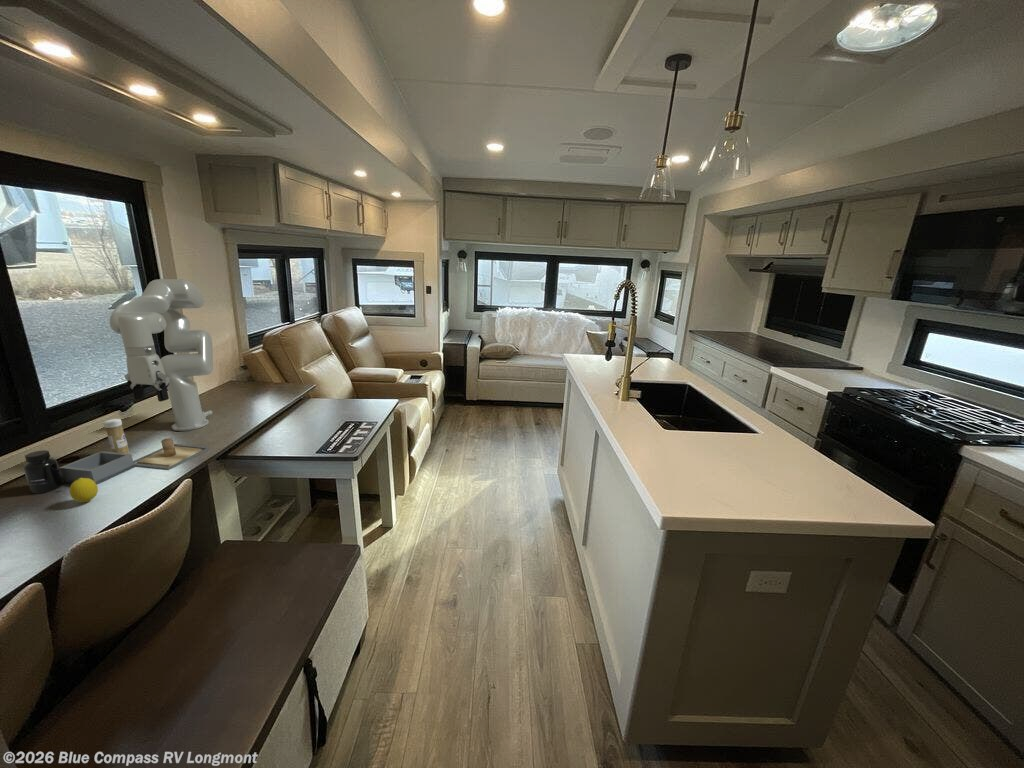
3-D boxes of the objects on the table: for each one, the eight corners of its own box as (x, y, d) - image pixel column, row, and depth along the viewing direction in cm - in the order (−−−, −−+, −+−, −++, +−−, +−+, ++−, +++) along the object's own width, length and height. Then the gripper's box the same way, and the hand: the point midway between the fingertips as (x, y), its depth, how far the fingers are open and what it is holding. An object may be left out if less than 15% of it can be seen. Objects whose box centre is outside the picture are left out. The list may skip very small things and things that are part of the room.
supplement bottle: (34, 496, 120) (21, 460, 117) (29, 489, 124) (16, 454, 120) (67, 486, 126) (55, 452, 122) (61, 480, 129) (49, 446, 126)
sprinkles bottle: (128, 455, 146) (119, 421, 142) (111, 458, 144) (101, 424, 140) (131, 450, 150) (122, 417, 146) (114, 453, 147) (105, 419, 143)
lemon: (86, 497, 121) (78, 473, 118) (106, 496, 121) (98, 473, 119) (68, 507, 115) (60, 483, 113) (89, 507, 116) (81, 482, 113)
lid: (172, 448, 153) (168, 431, 151) (202, 451, 152) (198, 434, 150) (137, 464, 141) (132, 446, 139) (169, 468, 139) (165, 449, 137)
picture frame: (172, 444, 155) (172, 443, 155) (211, 448, 153) (211, 447, 153) (126, 465, 139) (126, 464, 139) (168, 469, 137) (168, 468, 137)
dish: (105, 464, 140) (101, 451, 138) (134, 467, 138) (131, 454, 137) (63, 481, 128) (59, 467, 127) (95, 485, 127) (91, 471, 125)
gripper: (173, 350, 137) (183, 398, 142) (131, 348, 140) (142, 395, 144) (150, 354, 130) (162, 404, 135) (107, 352, 133) (119, 401, 137)
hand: (152, 399), depth 140 cm, fingers open, 9 cm apart
